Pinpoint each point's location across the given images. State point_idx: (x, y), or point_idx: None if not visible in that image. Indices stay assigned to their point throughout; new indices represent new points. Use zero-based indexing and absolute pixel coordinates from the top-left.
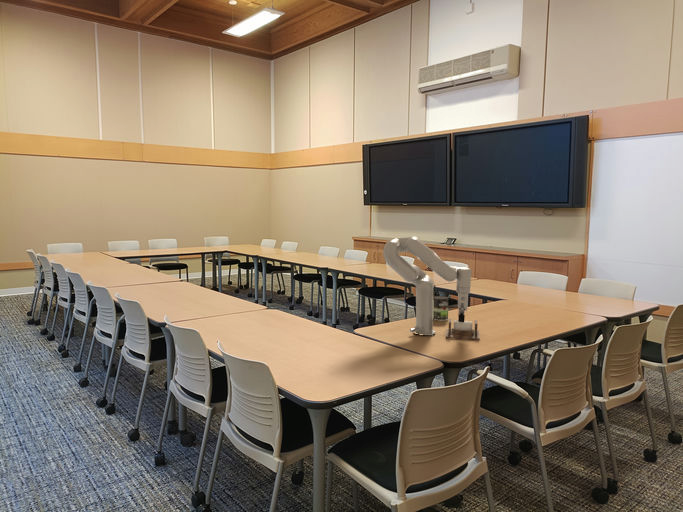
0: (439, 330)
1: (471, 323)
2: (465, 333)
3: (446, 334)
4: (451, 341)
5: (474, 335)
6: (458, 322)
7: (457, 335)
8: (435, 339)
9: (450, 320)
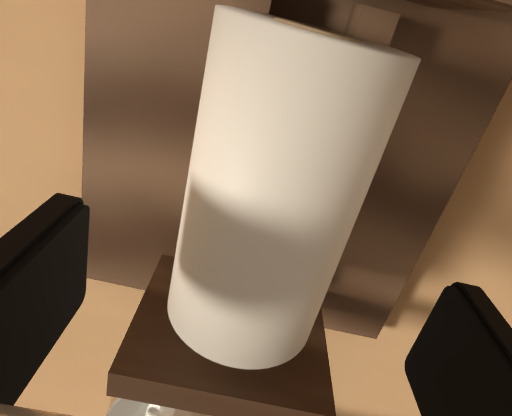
0: (84, 315)
1: (392, 79)
2: None
3: None
4: None
5: (388, 2)
6: (301, 309)
7: (355, 230)
8: (382, 392)
9: (211, 399)
